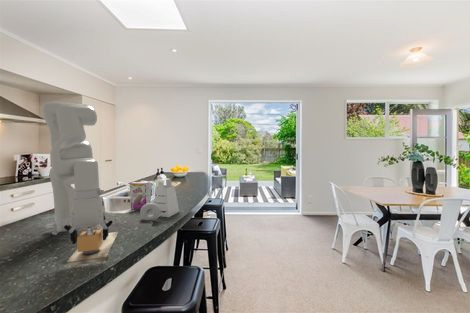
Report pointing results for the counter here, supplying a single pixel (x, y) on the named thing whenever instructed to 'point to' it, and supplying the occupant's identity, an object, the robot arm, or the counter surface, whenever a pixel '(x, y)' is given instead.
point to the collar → (89, 241)
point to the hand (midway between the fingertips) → (90, 240)
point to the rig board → (102, 253)
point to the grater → (166, 198)
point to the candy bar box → (139, 194)
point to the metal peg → (89, 232)
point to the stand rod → (100, 228)
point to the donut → (146, 207)
